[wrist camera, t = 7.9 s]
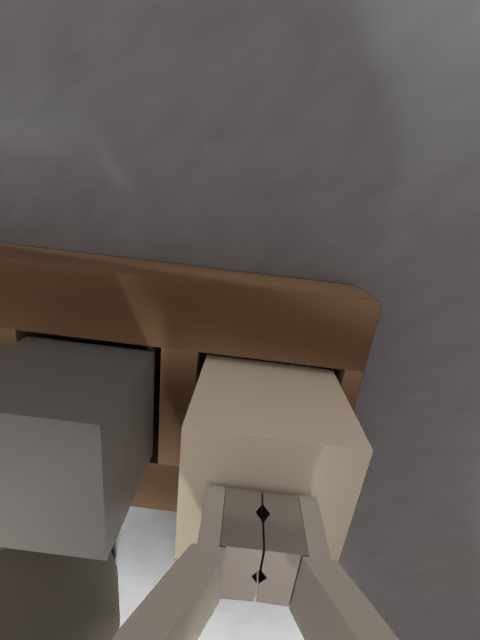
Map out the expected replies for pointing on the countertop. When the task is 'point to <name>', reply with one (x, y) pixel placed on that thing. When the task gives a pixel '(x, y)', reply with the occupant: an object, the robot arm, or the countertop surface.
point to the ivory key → (271, 442)
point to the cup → (57, 597)
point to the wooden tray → (184, 326)
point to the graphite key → (71, 443)
